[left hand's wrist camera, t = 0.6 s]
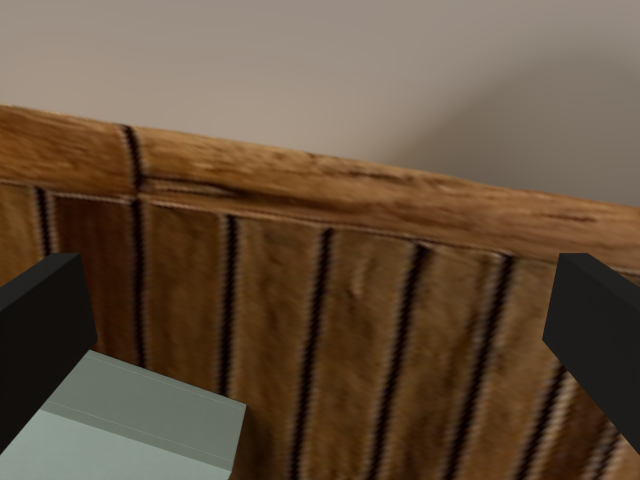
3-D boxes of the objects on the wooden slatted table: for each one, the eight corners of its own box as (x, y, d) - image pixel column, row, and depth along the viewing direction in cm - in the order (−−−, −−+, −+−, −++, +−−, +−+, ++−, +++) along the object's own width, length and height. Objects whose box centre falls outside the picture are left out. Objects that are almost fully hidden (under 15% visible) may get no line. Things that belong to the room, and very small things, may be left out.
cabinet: (20, 415, 47) (-41, 484, 39) (41, 332, 44) (-21, 390, 36) (212, 476, 51) (192, 552, 43) (246, 404, 47) (231, 472, 39)
